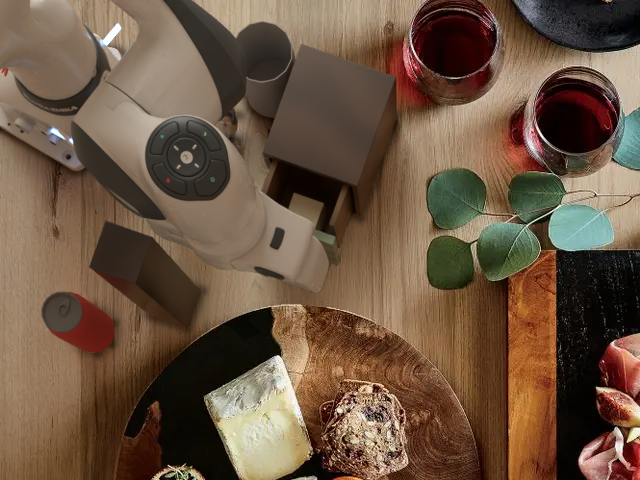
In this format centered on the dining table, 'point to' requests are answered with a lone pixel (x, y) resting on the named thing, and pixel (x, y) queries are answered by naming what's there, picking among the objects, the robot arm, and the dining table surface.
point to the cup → (266, 65)
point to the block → (309, 210)
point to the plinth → (145, 274)
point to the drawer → (330, 192)
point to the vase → (229, 126)
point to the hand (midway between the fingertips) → (250, 264)
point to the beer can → (78, 321)
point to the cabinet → (334, 121)
